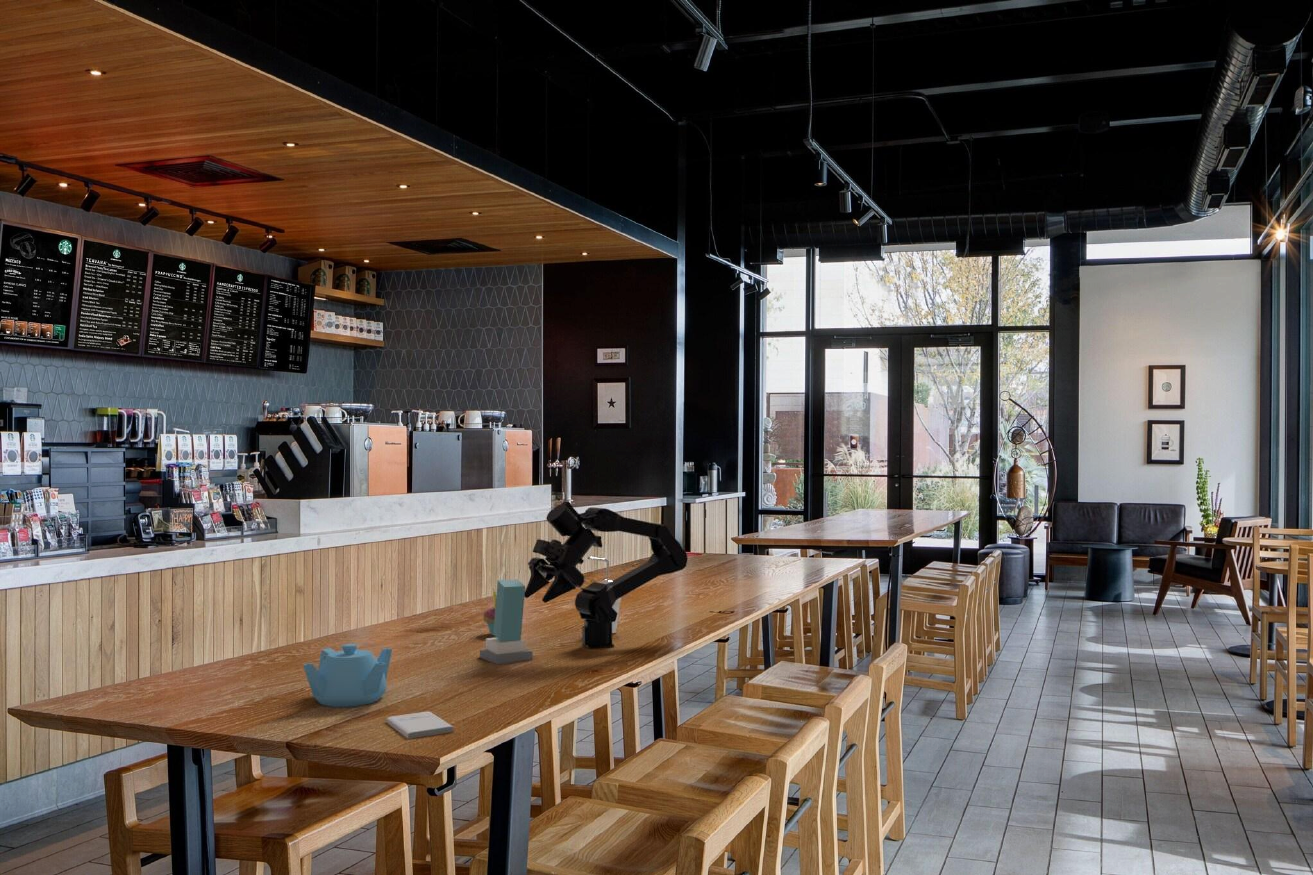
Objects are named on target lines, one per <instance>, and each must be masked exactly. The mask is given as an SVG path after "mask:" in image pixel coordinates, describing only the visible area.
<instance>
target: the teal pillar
mask: <svg viewBox="0 0 1313 875" xmlns="http://www.w3.org/2000/svg"><path fill="white" fill-rule="evenodd" d="M496 584H497V585H496V607H495V606H494V607H495V620H494V632H493V634H494V635H493V636H494V637H495V638H497V639H498V640H499V641H500V642H502V641H516V640H521V639H522V629H523V619H524V618H523V617H524V604H525V597H524V596H525V590H526V585H525V584H524V583H523V582H522V581H521V580H519V578H518V579H502V580H501V579H499V580H498V579H497V583H496Z"/></svg>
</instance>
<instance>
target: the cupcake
mask: <svg viewBox="0 0 1313 875" xmlns="http://www.w3.org/2000/svg"><path fill="white" fill-rule="evenodd" d="M492 590H493V592H492V595H493V596H492V597H493V602H494V607H491V608H489V609H487V610H486V611H485V612H484V613H483V617H482V618H483V619H482V620H483V621H484V622H485V623H486V624H487V627H488V630H489V633H490V635H491V636H495V635H494V634H493V632H494V620H495V607H496V595H497V591H495V589H494V588H492Z"/></svg>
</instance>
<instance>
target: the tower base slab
mask: <svg viewBox="0 0 1313 875" xmlns="http://www.w3.org/2000/svg"><path fill="white" fill-rule="evenodd" d="M479 658H480V659H483V660H485V661H488V662H489V663H493V664H496V665H499V664H501V665H502V664H508V663H517V662H522V661H531V660H533V650H530V649H527V648H526V651H523V652H514V653H505V654H495V653H493V652H491V651H488V650H486V648H482V649H481V648H480V649H479Z"/></svg>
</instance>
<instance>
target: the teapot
mask: <svg viewBox="0 0 1313 875" xmlns="http://www.w3.org/2000/svg"><path fill="white" fill-rule="evenodd" d="M357 647H358V645H357V644H355V643H346V644H343V645H342V646H341V648H342V650H338V651H336V650H334V649H332V648H330V647H329V648H322V649H321V652H320V656H319V662H318V668H316V666H315V664H314V663H311V662H309V663H304V664H302V666H303V669H304V670H303V671H304V672H305V676H306V678H307V682H308V684H309V687H310V690H311V692H312V696H313V697H314V698H315V700H316V701H317V702H318V703H319V704H320V705H322V706H326V707H334V708H347V707H358V706H363V705H369V704H372V703H375V702H377V701H379V700H380V699H381V698H382V696H383V695H384V694H385V693H386V691H387V685H388V684H387V679H388V678H387V677H388V672H389V667H390V663H391V656H392V652H393V648H389V647H387V648H382V649H381V651H380V654H379V655H378V657H377V658H376V657H375V655H374V654H373V653H372V651H369V650H366V649H357Z"/></svg>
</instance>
